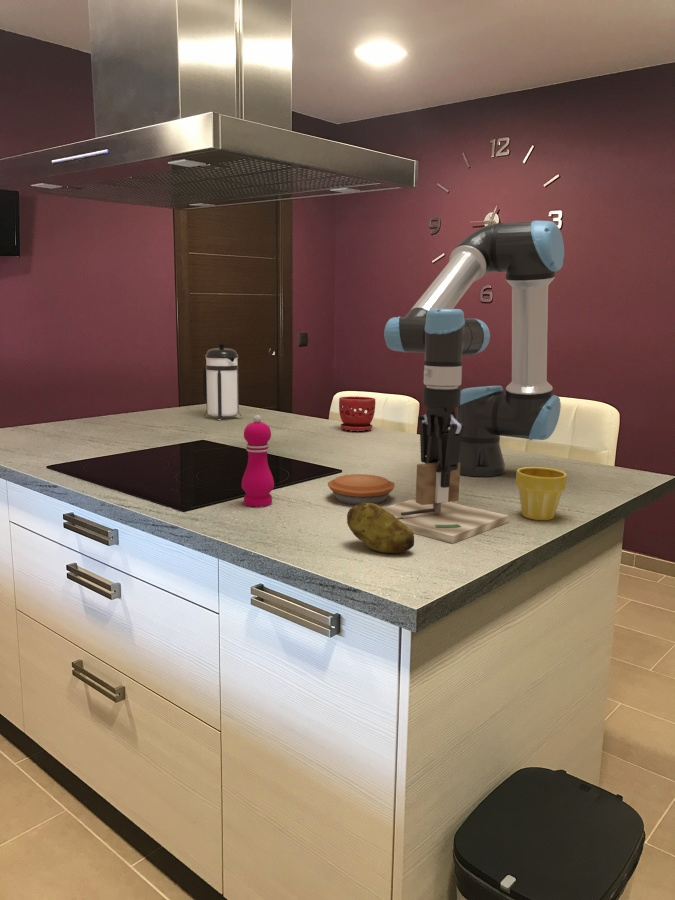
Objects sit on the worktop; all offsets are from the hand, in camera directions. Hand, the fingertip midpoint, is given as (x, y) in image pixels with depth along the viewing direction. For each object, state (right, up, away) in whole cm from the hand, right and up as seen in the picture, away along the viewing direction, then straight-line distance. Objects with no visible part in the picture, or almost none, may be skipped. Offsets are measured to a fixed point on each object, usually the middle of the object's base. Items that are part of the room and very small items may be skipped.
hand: (437, 499), depth 150 cm
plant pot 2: (+22, -4, +6) cm, 23 cm away
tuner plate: (0, -4, +1) cm, 5 cm away
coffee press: (-67, +23, +138) cm, 155 cm away
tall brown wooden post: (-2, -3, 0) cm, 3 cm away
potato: (-13, -8, -17) cm, 23 cm away
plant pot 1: (-14, +17, +113) cm, 115 cm away
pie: (-15, -1, +18) cm, 24 cm away
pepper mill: (-39, -2, +13) cm, 41 cm away
